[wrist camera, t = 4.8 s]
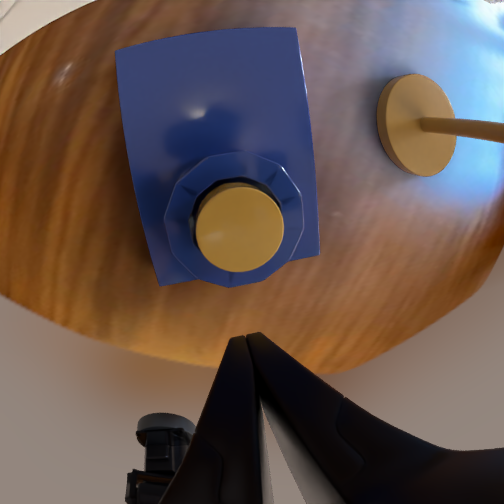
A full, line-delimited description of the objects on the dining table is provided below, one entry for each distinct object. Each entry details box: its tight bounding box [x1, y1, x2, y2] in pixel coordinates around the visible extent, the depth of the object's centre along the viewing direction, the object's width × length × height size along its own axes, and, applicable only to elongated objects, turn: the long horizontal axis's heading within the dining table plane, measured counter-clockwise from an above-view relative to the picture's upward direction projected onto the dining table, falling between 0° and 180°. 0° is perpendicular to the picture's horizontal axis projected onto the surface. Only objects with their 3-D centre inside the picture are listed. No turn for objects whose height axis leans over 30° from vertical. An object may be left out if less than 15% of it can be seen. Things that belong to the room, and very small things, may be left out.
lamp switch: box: [196, 182, 284, 272], centre depth 14 cm, size 4×4×2 cm
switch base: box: [115, 27, 320, 288], centre depth 14 cm, size 14×10×4 cm
